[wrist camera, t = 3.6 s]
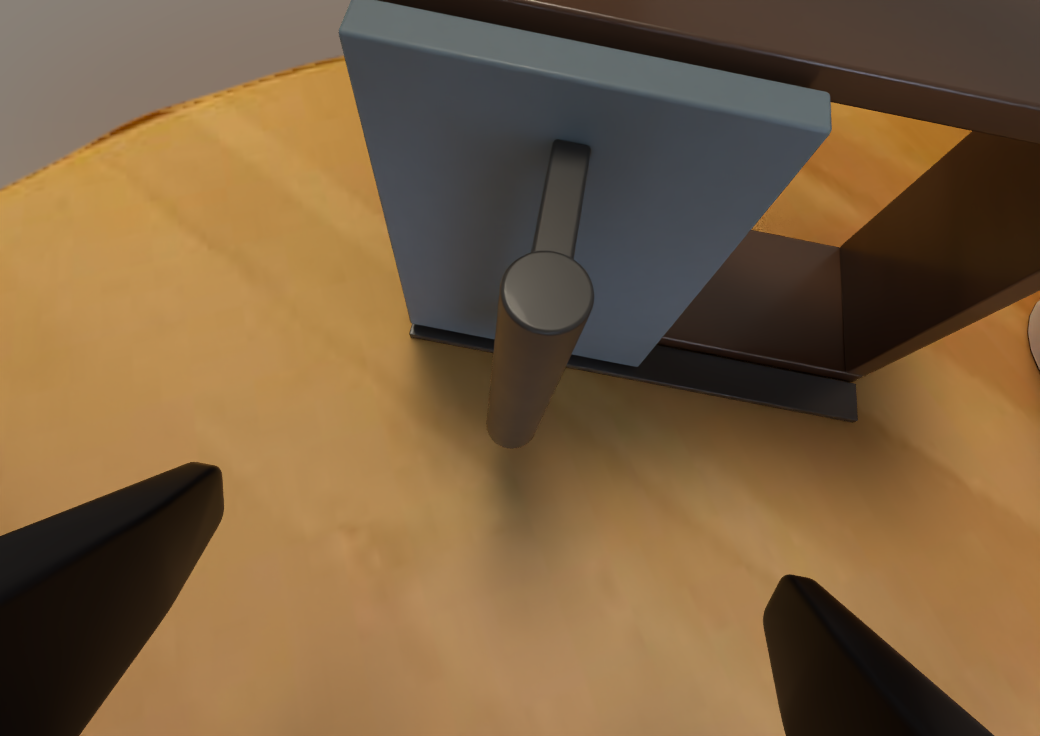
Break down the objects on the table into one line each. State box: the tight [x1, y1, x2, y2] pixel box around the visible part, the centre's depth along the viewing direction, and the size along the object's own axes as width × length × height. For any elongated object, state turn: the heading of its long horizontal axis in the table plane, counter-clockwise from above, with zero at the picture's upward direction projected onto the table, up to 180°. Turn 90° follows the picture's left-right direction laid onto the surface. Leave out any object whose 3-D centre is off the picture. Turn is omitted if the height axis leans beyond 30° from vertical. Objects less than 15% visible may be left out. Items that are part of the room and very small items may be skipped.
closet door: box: [339, 0, 832, 449], centre depth 15 cm, size 6×9×12 cm, turn 80°
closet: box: [378, 0, 1040, 423], centre depth 17 cm, size 8×18×13 cm, turn 80°
